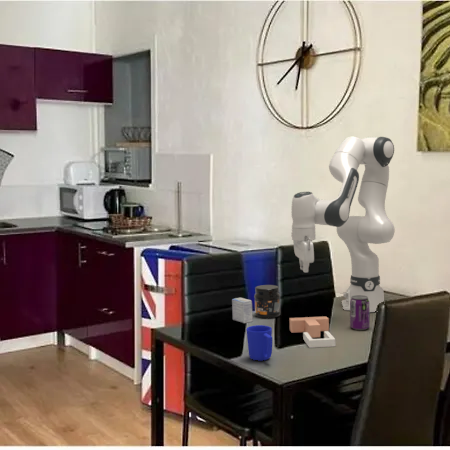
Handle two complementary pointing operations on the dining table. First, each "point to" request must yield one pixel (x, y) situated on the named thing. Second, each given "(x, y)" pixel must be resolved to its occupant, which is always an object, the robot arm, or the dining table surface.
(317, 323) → the t block
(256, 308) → the supplement container
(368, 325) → the beverage can
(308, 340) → the dock
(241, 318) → the medicine box
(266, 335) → the mug
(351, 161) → the robot arm
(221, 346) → the dining table surface
